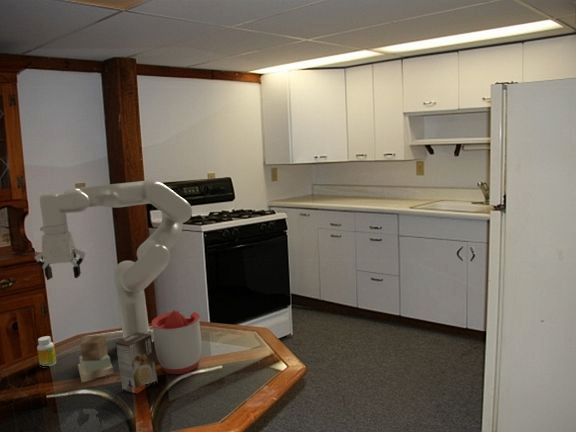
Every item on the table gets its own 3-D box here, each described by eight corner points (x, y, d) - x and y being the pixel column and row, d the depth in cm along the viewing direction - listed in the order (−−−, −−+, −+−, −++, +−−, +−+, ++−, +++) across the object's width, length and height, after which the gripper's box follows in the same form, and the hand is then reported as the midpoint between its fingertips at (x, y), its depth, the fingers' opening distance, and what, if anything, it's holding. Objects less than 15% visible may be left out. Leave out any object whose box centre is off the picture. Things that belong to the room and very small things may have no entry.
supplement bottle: (50, 367, 188) (46, 341, 187) (36, 367, 190) (32, 341, 188) (59, 361, 194) (55, 335, 192) (46, 360, 195) (42, 335, 193)
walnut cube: (82, 360, 179) (80, 343, 178) (90, 353, 185) (88, 336, 184) (100, 360, 179) (97, 343, 178) (107, 352, 184) (105, 335, 183)
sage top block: (104, 358, 188) (103, 349, 187) (110, 365, 181) (109, 357, 181) (80, 365, 183) (79, 356, 183) (86, 373, 177) (85, 364, 176)
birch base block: (109, 364, 189) (108, 356, 188) (113, 376, 180) (112, 367, 180) (79, 372, 185) (77, 364, 184) (82, 384, 176) (80, 375, 175)
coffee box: (143, 378, 176) (137, 331, 173) (158, 381, 172) (152, 334, 169) (121, 391, 168) (115, 342, 165) (136, 395, 165) (129, 345, 162)
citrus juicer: (214, 356, 188) (209, 301, 184) (190, 380, 172) (183, 320, 168) (175, 353, 193) (169, 299, 189) (147, 376, 177) (140, 317, 173)
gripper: (25, 233, 182) (33, 282, 185) (77, 230, 181) (84, 279, 184) (36, 229, 189) (43, 276, 192) (85, 225, 189) (92, 273, 192)
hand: (63, 277), depth 188 cm, fingers open, 9 cm apart
